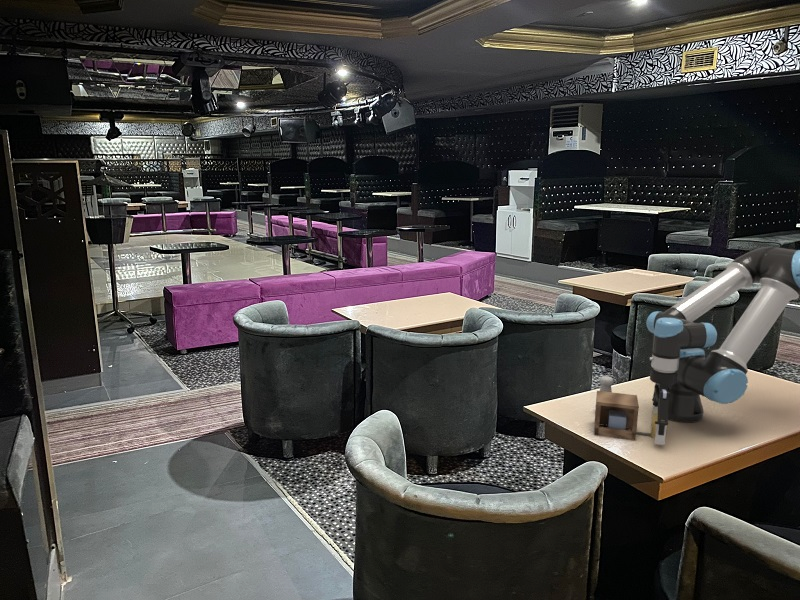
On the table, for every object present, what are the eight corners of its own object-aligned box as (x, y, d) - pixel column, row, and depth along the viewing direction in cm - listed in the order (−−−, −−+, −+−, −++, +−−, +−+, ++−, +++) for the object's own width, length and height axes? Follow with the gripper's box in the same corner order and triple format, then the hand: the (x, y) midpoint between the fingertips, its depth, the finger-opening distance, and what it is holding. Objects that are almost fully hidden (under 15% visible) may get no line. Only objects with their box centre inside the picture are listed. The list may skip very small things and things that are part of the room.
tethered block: (662, 434, 185) (664, 413, 183) (664, 441, 180) (666, 419, 179) (607, 427, 190) (609, 406, 188) (607, 433, 185) (609, 412, 184)
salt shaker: (592, 410, 203) (594, 374, 201) (608, 409, 204) (611, 374, 201) (599, 417, 198) (602, 380, 195) (615, 416, 198) (618, 379, 196)
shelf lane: (633, 427, 190) (636, 395, 187) (635, 440, 180) (638, 406, 178) (594, 422, 193) (597, 390, 191) (594, 435, 184) (597, 401, 182)
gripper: (647, 356, 191) (641, 417, 196) (654, 381, 168) (647, 450, 173) (672, 358, 189) (666, 420, 193) (683, 384, 166) (675, 454, 170)
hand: (657, 434), depth 183 cm, fingers open, 13 cm apart
